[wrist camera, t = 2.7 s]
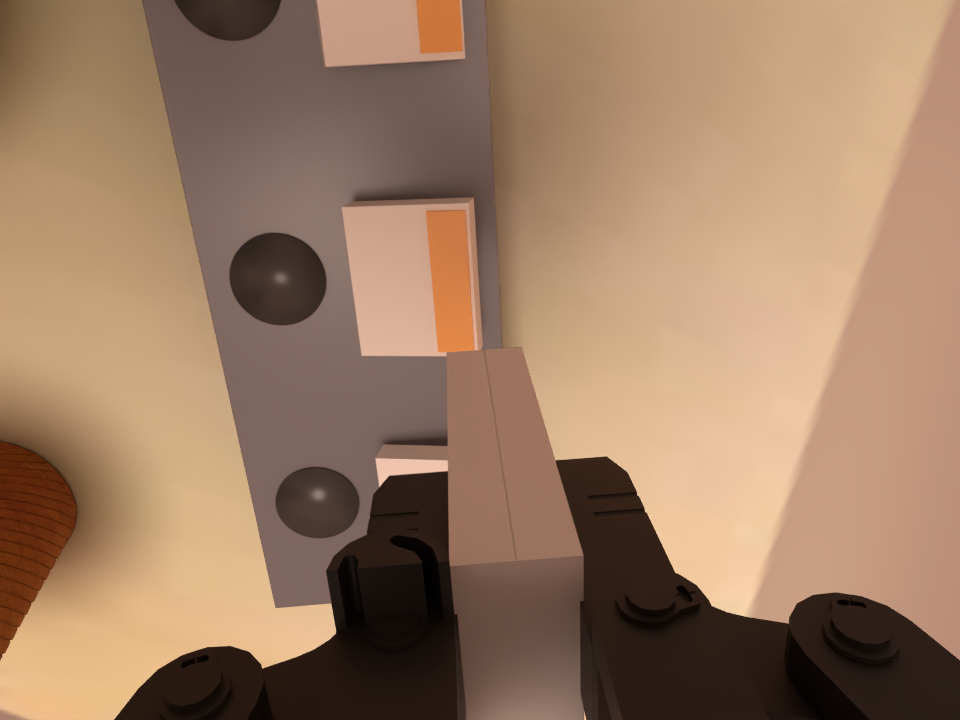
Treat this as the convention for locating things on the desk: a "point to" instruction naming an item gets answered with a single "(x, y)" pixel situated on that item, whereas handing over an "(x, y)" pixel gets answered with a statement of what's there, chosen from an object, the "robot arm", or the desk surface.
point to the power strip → (315, 248)
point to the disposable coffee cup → (28, 531)
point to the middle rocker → (414, 276)
